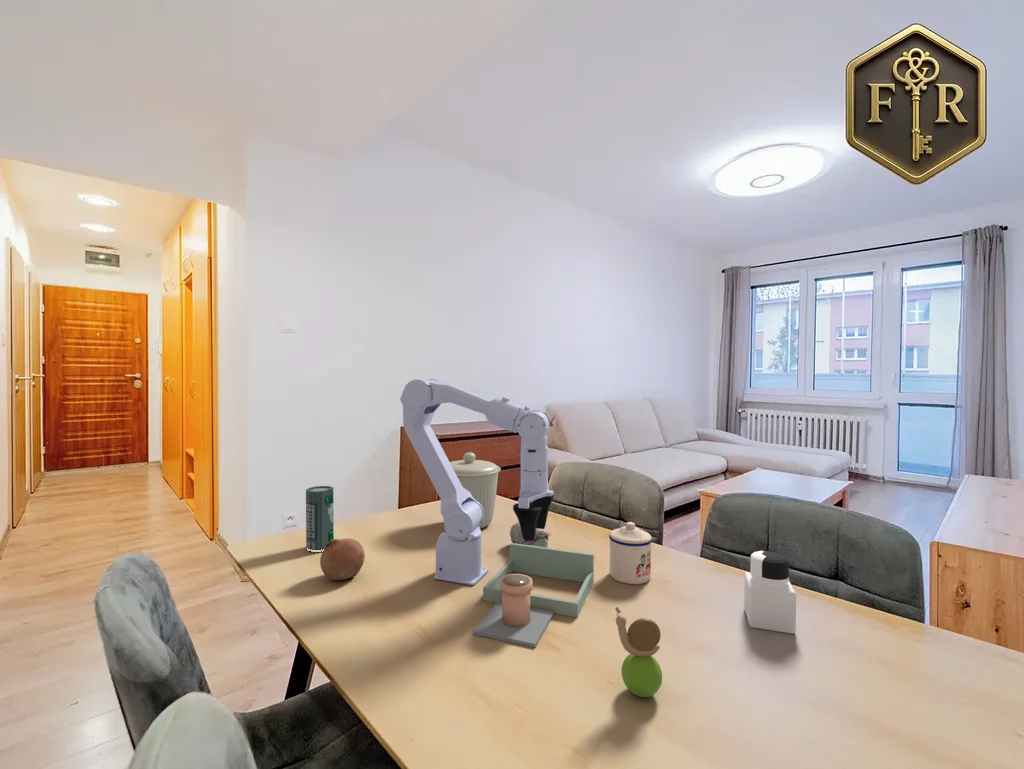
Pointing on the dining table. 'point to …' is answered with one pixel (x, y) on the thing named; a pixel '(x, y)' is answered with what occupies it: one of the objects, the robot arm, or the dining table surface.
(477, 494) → the canister
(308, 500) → the can
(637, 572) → the teacup with lid
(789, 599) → the medicine bottle
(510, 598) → the terracotta pot
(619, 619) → the snail figurine
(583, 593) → the frame
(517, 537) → the decorative bird
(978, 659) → the dining table surface
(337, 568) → the brown kiwi fruit
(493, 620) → the slate mat
